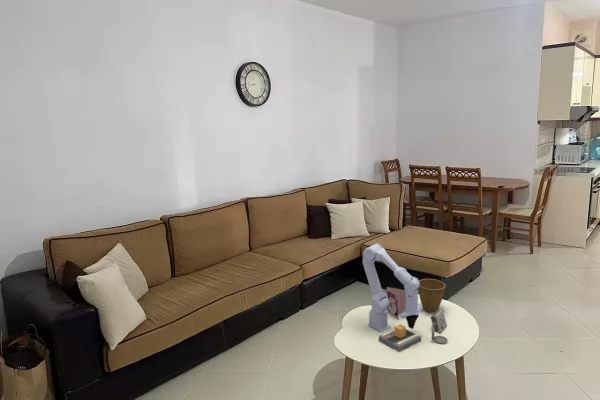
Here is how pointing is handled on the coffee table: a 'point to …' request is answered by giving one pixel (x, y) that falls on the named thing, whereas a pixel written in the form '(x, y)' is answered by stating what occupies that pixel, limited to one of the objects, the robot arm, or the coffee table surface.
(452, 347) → the coffee table surface
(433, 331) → the pocket watch
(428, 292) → the plant pot
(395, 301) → the greeting card
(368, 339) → the coffee table surface
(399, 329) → the block
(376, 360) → the coffee table surface
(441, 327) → the electrical switch
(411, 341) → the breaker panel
